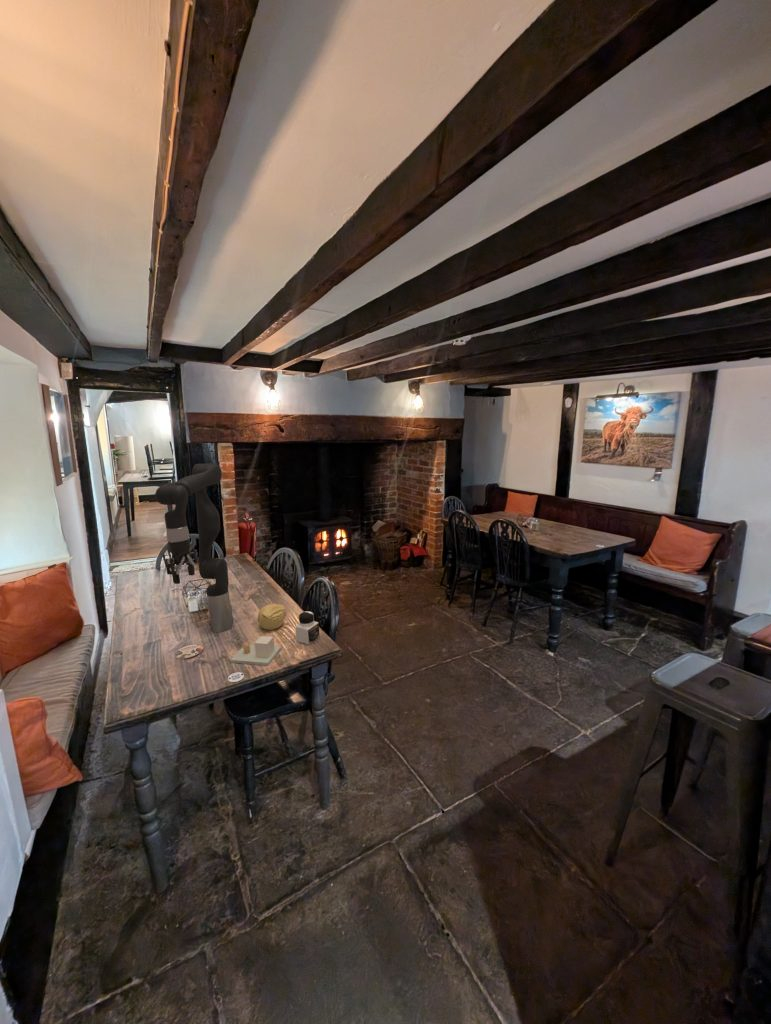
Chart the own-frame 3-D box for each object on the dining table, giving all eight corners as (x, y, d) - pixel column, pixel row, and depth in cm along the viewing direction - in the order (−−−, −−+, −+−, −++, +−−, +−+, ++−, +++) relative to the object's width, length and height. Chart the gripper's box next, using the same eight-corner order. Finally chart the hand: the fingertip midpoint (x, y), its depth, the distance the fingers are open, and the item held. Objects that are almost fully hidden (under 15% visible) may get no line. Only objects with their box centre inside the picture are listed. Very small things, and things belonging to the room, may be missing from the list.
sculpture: (270, 635, 183) (268, 612, 180) (254, 628, 190) (251, 606, 188) (290, 624, 192) (288, 603, 189) (274, 618, 199) (272, 597, 196)
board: (246, 646, 174) (244, 635, 173) (281, 649, 171) (280, 637, 170) (230, 662, 163) (228, 650, 162) (268, 665, 159) (266, 653, 158)
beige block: (262, 649, 169) (261, 636, 168) (274, 650, 168) (273, 636, 167) (256, 656, 164) (254, 643, 162) (268, 657, 163) (267, 643, 161)
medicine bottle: (309, 645, 173) (307, 618, 171) (296, 641, 177) (293, 615, 174) (320, 637, 179) (317, 611, 177) (307, 633, 183) (304, 608, 180)
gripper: (182, 533, 163) (188, 572, 166) (156, 543, 149) (162, 586, 152) (199, 533, 161) (204, 573, 165) (174, 544, 147) (181, 586, 151)
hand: (184, 579), depth 158 cm, fingers open, 8 cm apart
